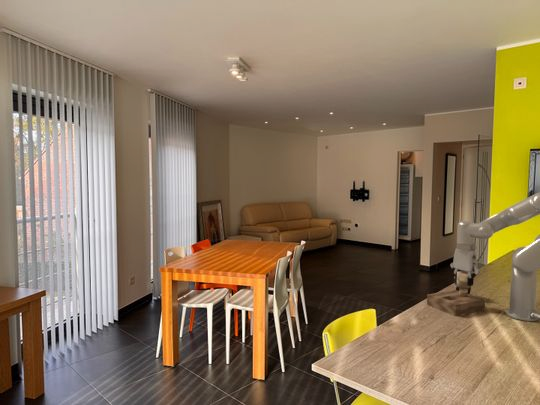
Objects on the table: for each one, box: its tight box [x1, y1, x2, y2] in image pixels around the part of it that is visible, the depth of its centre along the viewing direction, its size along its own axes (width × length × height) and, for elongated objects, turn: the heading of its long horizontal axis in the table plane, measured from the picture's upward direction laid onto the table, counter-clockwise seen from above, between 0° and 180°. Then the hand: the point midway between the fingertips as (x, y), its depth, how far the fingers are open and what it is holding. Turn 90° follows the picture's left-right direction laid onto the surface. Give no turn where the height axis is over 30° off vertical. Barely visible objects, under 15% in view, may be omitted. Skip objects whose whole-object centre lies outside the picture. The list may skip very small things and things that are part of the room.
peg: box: [456, 270, 472, 297], centre depth 178 cm, size 6×6×11 cm
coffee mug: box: [453, 276, 472, 295], centre depth 193 cm, size 12×9×10 cm
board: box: [426, 289, 486, 317], centre depth 177 cm, size 16×20×5 cm
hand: (463, 283), depth 178 cm, fingers closed on peg, 6 cm apart
